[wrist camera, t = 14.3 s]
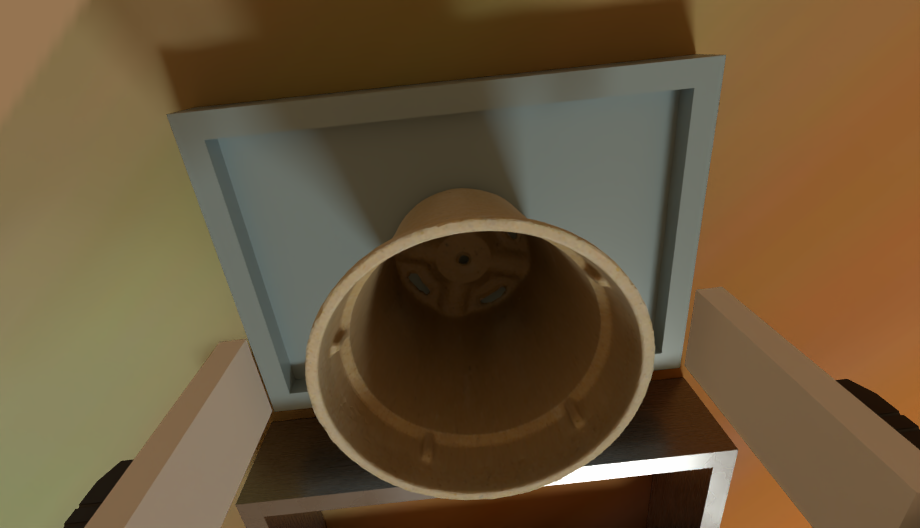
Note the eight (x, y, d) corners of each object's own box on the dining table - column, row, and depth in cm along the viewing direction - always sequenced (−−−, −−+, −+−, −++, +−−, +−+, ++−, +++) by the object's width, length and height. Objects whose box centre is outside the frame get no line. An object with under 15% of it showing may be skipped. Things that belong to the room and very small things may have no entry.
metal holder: (327, 573, 31) (309, 662, 27) (271, 422, 25) (235, 504, 20) (659, 536, 31) (697, 619, 27) (683, 377, 25) (738, 449, 21)
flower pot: (425, 97, 17) (417, 138, 9) (612, 218, 20) (730, 330, 12) (320, 285, 20) (249, 432, 13) (492, 368, 23) (522, 534, 15)
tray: (286, 384, 24) (274, 411, 22) (193, 107, 18) (166, 114, 16) (661, 343, 24) (679, 367, 22) (696, 54, 18) (726, 55, 16)
